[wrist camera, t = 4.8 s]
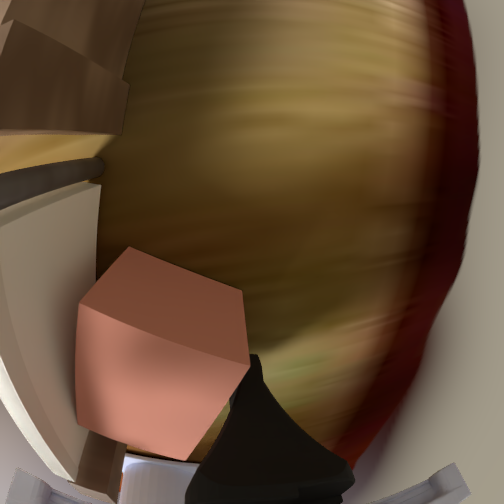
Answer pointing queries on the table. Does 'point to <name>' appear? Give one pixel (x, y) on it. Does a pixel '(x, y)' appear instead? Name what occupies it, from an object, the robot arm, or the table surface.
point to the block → (157, 354)
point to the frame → (66, 126)
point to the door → (46, 316)
